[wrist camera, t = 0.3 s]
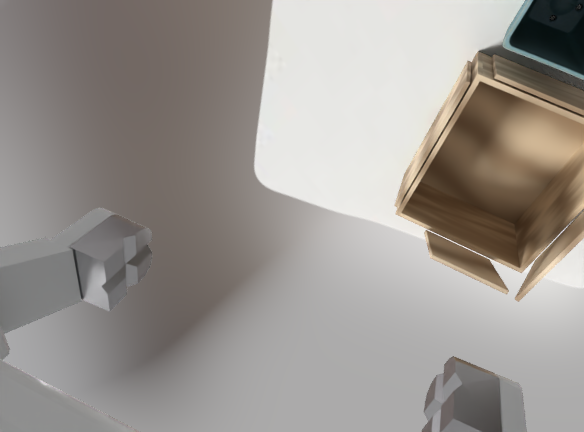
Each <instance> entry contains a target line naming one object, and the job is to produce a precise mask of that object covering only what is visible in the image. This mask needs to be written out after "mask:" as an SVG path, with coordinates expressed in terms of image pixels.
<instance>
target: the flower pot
mask: <svg viewBox="0 0 584 432" xmlns="http://www.w3.org/2000/svg"><path fill="white" fill-rule="evenodd" d="M579 4H580V5H582V8H581V9H580V10H576V6H577V5H579ZM552 15H555V19H554V20H550V17H551V16H552ZM503 47H504V48H505V49H507V50H510V51H512V52H515V53H518V54H520V55H523V56H525V57H528V58H531V59H533V60H536V61H538V62H541V63H543V64H546V65H548V66H551V67H554V68H556V69H558V70H561V71H563V72H566V73H568V74H570V75H573V76H575V77H577V78H579V79H582V80H584V0H525V2H524V3H523V5H522V7H521V8H520V10H519V11H518V13H517V15H516V16H515V18H514V20H513V21H512V23H511V24H510V26H509V28H508V30H507V32H506V35H505V38H504V40H503Z"/></svg>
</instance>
